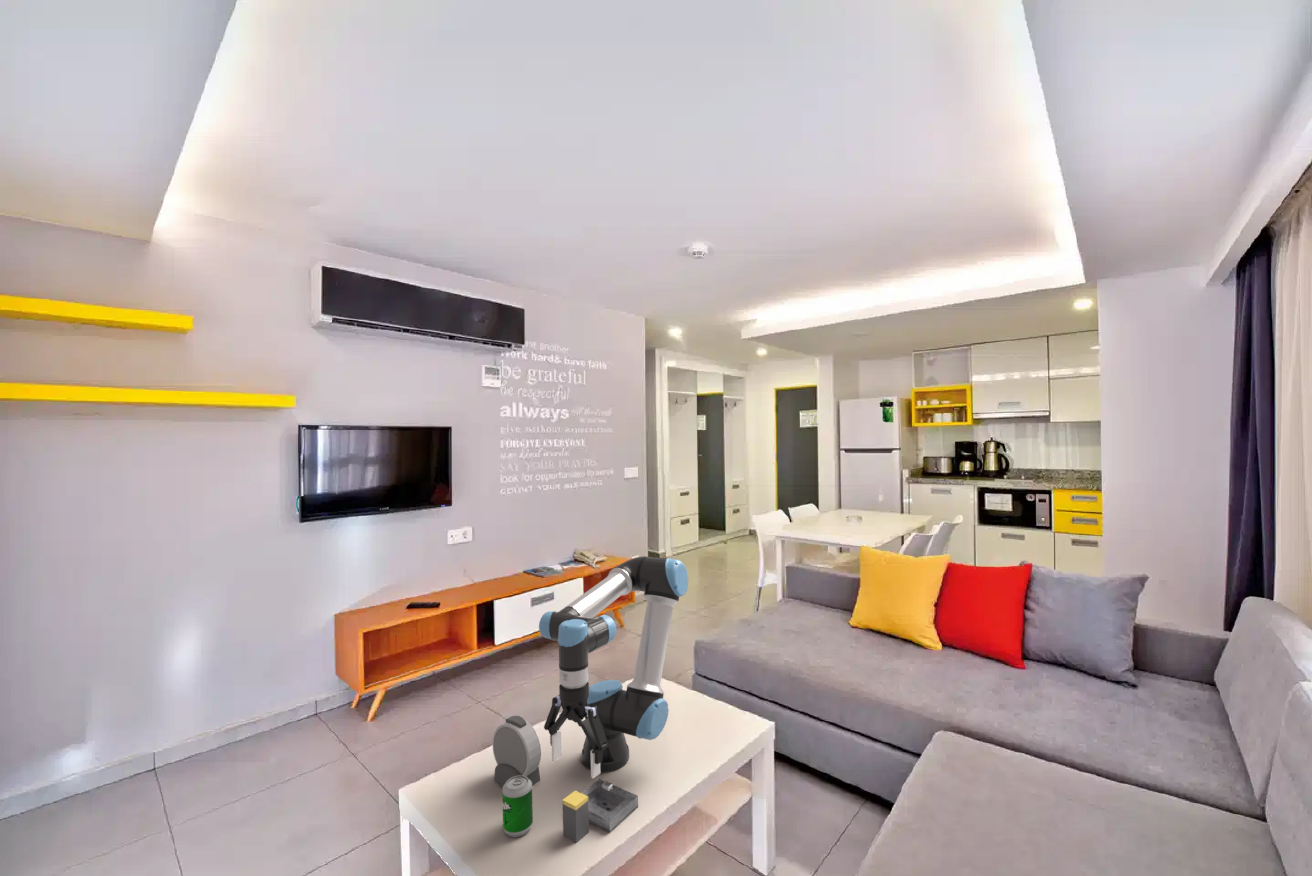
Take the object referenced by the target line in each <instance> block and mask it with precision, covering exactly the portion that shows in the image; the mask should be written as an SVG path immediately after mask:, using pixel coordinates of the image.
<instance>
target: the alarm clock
mask: <svg viewBox="0 0 1312 876" xmlns="http://www.w3.org/2000/svg"><path fill="white" fill-rule="evenodd" d="M539 738H540V737H539V736H538V734H537V731H536V730H535V727H533V725H532V724H530V722H528V721H527V720H526V719H525V718H523V717H522V716H520V715H512V716H509V717H508V718H506V719H505V722H503V723H502V724H501V723H500V725H498V726H497V727H496V729H495V731H494V734H493V737H492V751H493V752H492V753H493V757H494V760H495V762H496V766H495V768H494V775H493V776H494V777H493V778H494V779H493V781H494V783H495V784H496V785H497V786H498V787H499V788H501V789H503V786H504V784H505V783H506V782H507V780H509V779H510V778H512V777H514V776H519V775H520V776H526V777H527V778H528V779H529V780H531V782H532V787H534V786H535V785H536V784H538V783H539V782H541V777H540V763H541V759H542V758H541V757H542V749H541V742H540V739H539Z"/></svg>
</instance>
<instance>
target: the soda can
mask: <svg viewBox="0 0 1312 876" xmlns="http://www.w3.org/2000/svg"><path fill="white" fill-rule="evenodd" d="M501 792H502V793H501V794H502V795H501V796H502V830H503V832H504V833H505V834H506V835H507V836H509V837H512V838H518V837H521V836H523V835H525V834H527V832H529V831H530V829H531V828H532V827H533V822H534V817H533V814H534V813H533V786H532V782H531V780H529V779H528V778H527V777H526V776H520V775H519V776H514V777H512V778H510V779H509V780H507V782H506V783H505V784H504V786H503V788H501Z"/></svg>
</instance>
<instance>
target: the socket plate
mask: <svg viewBox="0 0 1312 876" xmlns="http://www.w3.org/2000/svg"><path fill="white" fill-rule="evenodd" d="M581 793H582V794H584V795H586V796H588V810H589V824H592V825H593V826H596V827H597V828H599V829H602V830H604V831H606V832H608V833H611V832H613V831H614V830H615V829H616V828H617V827H618V826H619V825H620V824H622V822H623V821H625V820H626V819H627V818H628V817H629V816H630V815H631V814H632V813H633V812H635V810H637V808H639V795H637V794H635V793H633V792H630V791H628V790H626V789H624V788H621V787H619V786H616V785H614V784H613V783H612V782H610V781H608V780H603V779H601V778H598V780H596V781H595V782H593V783H592V784H591V785H589V786H588V787H587V788H586V789H584V790H583V791H581Z"/></svg>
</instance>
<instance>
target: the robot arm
mask: <svg viewBox="0 0 1312 876" xmlns="http://www.w3.org/2000/svg"><path fill="white" fill-rule="evenodd" d="M688 589H689V573H688V570H687V568H686V565H685V563H684V562H683V561H681V560H680V559H676V558H675V559H674V558H670V557H668V558H667V557H655V556H654V557H652V556H638V557H634V558H631V559H627V560H626V561H624V562H622V563H620V564H618V565H617V566H615V567H614V568H612V569H611V570H609V572H608V575H607V576H606V577H605V578H604V579H602V580H601V581H599V582H598V583H597V584H595V585H594V586H593V587H591V588H590V589H588V590H587V591H585V592H584V593H582V594H581V595H580V596H578V597H577V598H576V599H574V600H573V601H571V602H570V603H569V604H567V605H566V606H565V607H563V608H562V609H560V610H559V611H555V610H553V611H546V612H544V613H543V614H542V615H541V617H540V620H539V622H538V631H539V634H540V635H541V636H542V637H543V638H545V639H548V640H551V641H556V642H557V643H558V645H557V646H558V677H559V678H558V679H559V680H558V681H559V686H558V688H559V689H558V691H559V693H558V694H557V695H556V696H554V697H553V698H551V707H550V710H549V712H548V715H547V717H546V721H545V723H544V726H543V730H544V731H548V733H549V735H550V736H549V738H550V739H549V741H550V742H549V743H550V746H551V761H552V762H555V761H558V760H559V759H560V758H562V732H561V731H560V730H561V727H562V726H563V725H564V723H565V722H566V721H567V720H568V721H573V723H577V725H578V727H580V728H581V729H582V731H583V733H584V735H585V740H584V741H583V747H582V750H581V756H580V757H581V764H582V765H583V766H584V768H586V769H587V770H590V778H592V779H594V778H596V777H598V776H599V775H600V774H601V773H604V772H611V771H616V770H618V769H620V768H622V767H624V766H625V765H626V764H627V763H628V761H629V759H630V748H629V747H630V746H629V745H628V742H627V739H626V736H625V735H628V736H631V737H637V738H638V739H644V740H648V741H649V740H650V741H651V740H655V739H656V738H658V737H659V736H660V734H661V733H662V732H663V731H664V728H665V726H666V723H667V721H668V717H669V712H670V710H669V703H668V701H667V700H666V699H665V698H664V695H665V692H664V690H663V687H662V686H661V683H662V677H663V670H664V664H665V658H666V653H667V652H666V651H667V645H668V639H669V633H670V627H671V620H672V615H673V609H674V607H675V606H676V605H678V604H679V600H680V598H681V597H683V596H685V595H686V592H687V591H688ZM632 592H644V593H643V597H644V599H645V600H646V608H645V613H644V618H643V619H644V620H643V625H642V629H641V636H640V641H639V647H638V652H637V658H636V663H635V669H634V675H633V679H632V681H631V682H630V683H628V684H627V685H626V686H627V687H626V690H624V689H623V684H622V682H621V681H620V680H617V679H607V680H602V681H598V682H596V683H593V684H591V685H590V683H589V679H590V678H589V675H590V674H589V654H591V653H593V652H594V651H596V650H597V649H600V648H601V647H603V646H606V645H608V643H610V642H612V641H613V640H614V639H615V637H616V636H617V625H616V622H615V620H614V619H613V618H612V617H611V616H609V615H606V614H603V615H598V614H600V613H601V612H602V611H604V610H605V609H606V608H607V607H609V605H611V604H612V603H614V602H615V601H616V600H617V599H618V598H620V597H621V596H626V595H629V594H630V593H632ZM597 615H598V616H597ZM561 708H562V711H561V713H560V714H559V712H560V710H561Z"/></svg>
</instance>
